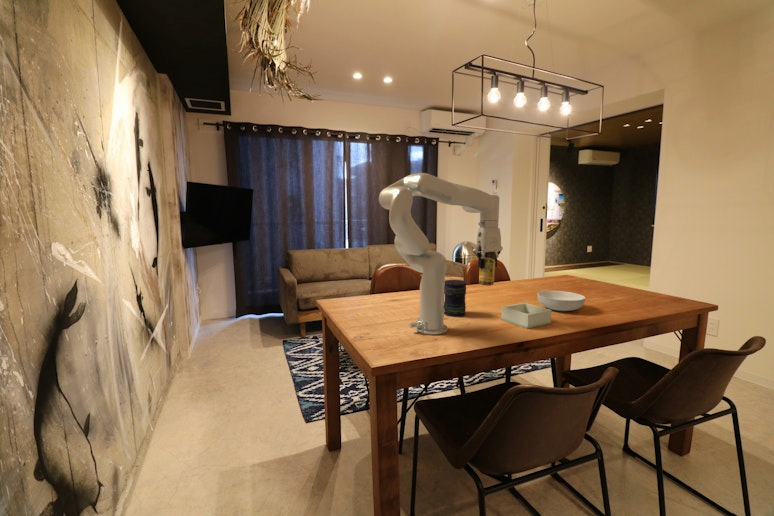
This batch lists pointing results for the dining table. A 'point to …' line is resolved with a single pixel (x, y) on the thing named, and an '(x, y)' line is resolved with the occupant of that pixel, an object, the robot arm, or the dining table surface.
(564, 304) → the serving bowl
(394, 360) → the dining table surface
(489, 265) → the sauce bottle
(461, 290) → the rusty oil drum
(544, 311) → the bin
